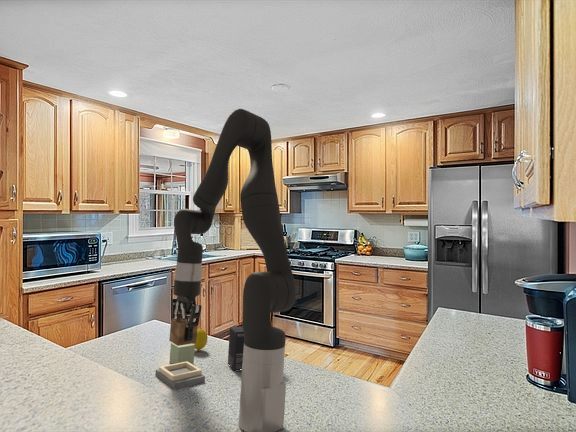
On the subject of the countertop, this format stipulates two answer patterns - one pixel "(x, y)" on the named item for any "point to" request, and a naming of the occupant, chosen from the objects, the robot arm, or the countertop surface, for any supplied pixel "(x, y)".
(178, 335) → the walnut block
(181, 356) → the sage block
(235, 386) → the countertop surface
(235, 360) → the small box
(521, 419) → the countertop surface
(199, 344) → the lemon
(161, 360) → the countertop surface
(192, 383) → the base board
